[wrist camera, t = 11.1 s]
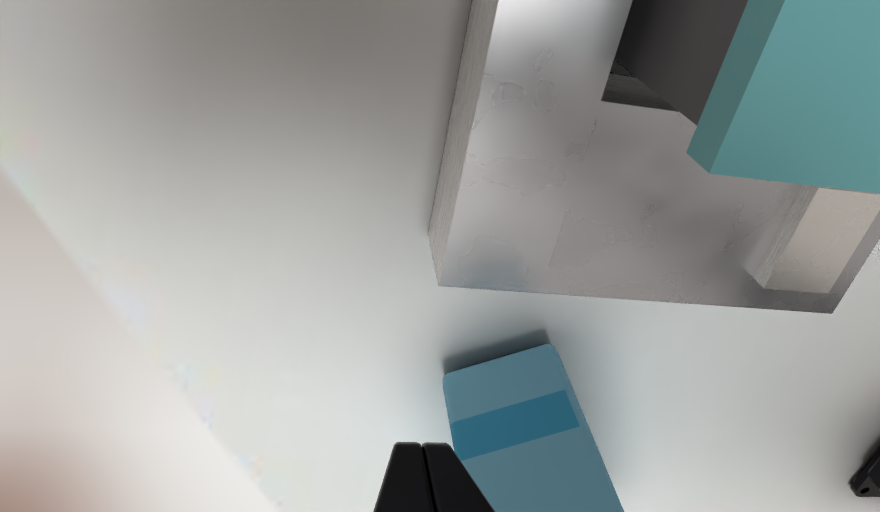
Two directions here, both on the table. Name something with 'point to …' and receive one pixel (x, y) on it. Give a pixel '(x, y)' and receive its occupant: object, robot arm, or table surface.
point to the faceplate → (616, 182)
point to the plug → (767, 84)
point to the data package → (527, 435)
